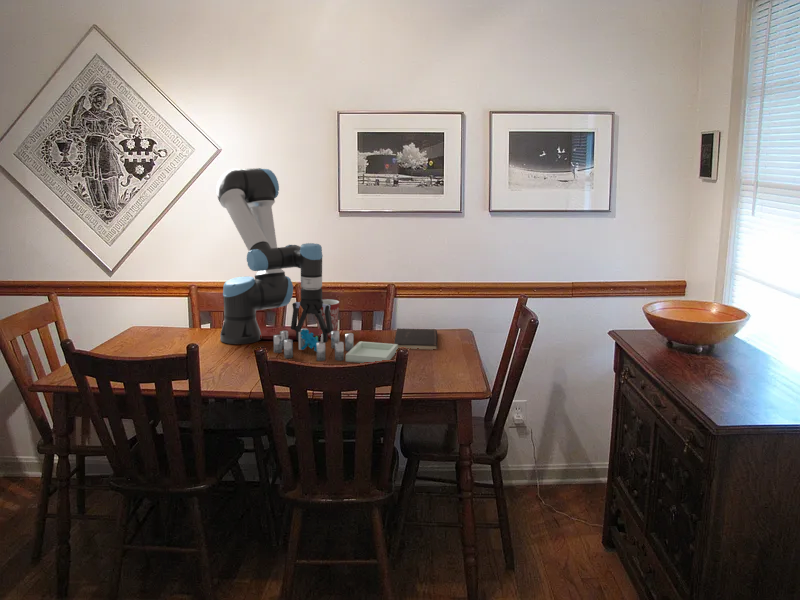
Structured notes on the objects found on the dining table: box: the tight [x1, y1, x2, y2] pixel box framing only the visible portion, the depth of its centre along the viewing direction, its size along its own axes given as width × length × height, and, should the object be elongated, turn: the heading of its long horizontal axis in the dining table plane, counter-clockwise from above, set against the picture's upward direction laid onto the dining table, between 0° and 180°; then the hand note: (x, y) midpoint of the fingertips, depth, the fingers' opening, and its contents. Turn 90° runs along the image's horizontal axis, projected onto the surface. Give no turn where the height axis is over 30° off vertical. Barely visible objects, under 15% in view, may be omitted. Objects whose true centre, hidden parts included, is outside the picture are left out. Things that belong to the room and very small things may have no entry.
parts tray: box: [345, 340, 399, 364], centre depth 255 cm, size 14×17×2 cm
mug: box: [317, 298, 340, 339], centre depth 282 cm, size 13×9×14 cm
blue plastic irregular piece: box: [300, 329, 320, 353], centre depth 259 cm, size 11×6×10 cm
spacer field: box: [272, 327, 354, 362], centre depth 259 cm, size 27×19×6 cm
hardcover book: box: [393, 328, 438, 350], centre depth 276 cm, size 16×23×2 cm
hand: (311, 349), depth 259 cm, fingers closed on blue plastic irregular piece, 8 cm apart
